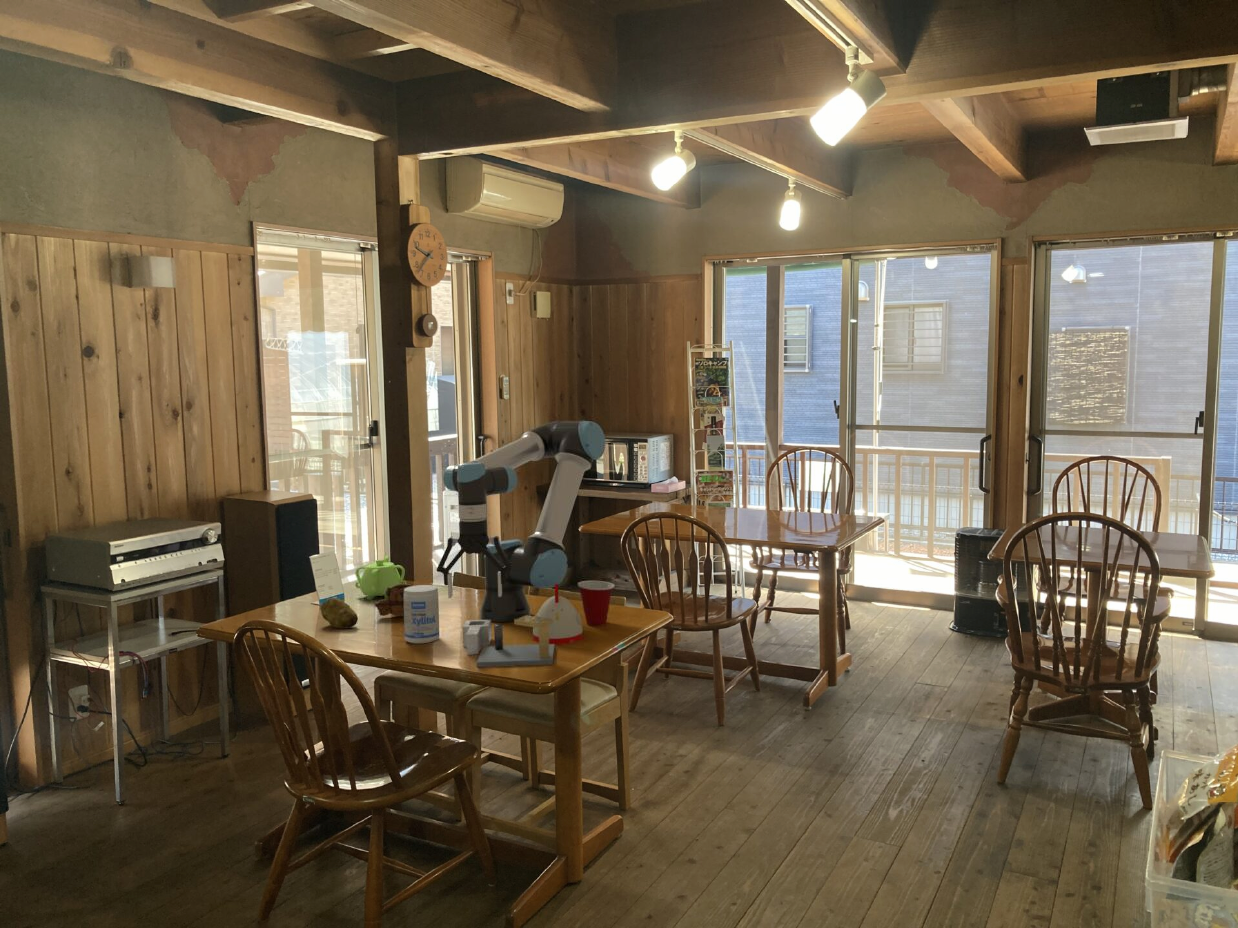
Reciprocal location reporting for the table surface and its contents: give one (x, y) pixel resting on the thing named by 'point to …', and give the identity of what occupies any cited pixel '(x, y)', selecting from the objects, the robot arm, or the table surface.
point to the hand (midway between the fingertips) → (475, 596)
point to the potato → (338, 613)
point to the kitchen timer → (560, 620)
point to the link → (476, 635)
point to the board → (514, 656)
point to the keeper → (543, 631)
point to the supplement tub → (421, 614)
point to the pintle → (498, 636)
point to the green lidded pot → (379, 578)
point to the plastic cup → (595, 601)
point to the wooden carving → (393, 601)
